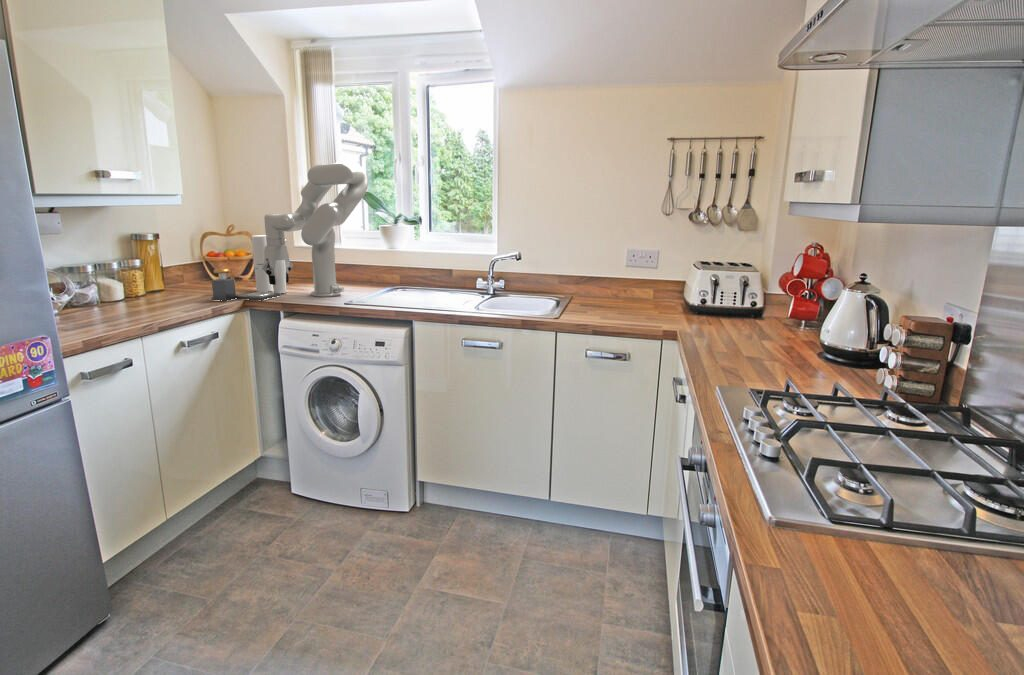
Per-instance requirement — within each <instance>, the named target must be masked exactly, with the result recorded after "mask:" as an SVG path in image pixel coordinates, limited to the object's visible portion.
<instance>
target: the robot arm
mask: <svg viewBox="0 0 1024 675" xmlns="http://www.w3.org/2000/svg"><path fill="white" fill-rule="evenodd" d="M308 169H309V170H308V171H307V180H308V182H307V183H306V184H305V185H304V186H303V187H302V189H301V191H300V195H301V199H302V200H301V203H300V205H299V206H298V208H297V209H296V210H295V211H294V212H293V213H283V214H280V213H267V214H265V215H264V218H263V219H264V231H265V235H266V243H267V246H265V250H264V265H263V266H262V269H263V270H264V271H265V272H266V273H267V275H269V282H270V284H272V285H275V276H274V269H275V265H276V261H278V260H285V264H286V284H288V283H289V274H290V271H291V270H292V268H293V266H294V263H292V262H291V260H290V256H289V250H288V247H287V245H286V243H287V239H285V232H287V233H288V232H289V233H290V232H296V231H297V232H298V231H301V233H300V236H301V237H300V238H301V239H302V241H303V243H304V244H306V245H307V246H311V261H312V263H311V265H312V276H313V278H312V279H313V280H312V281H313V290H314V291H311V292H310V296H312V297H321V298H322V297H335V296H340V295H341V293H343V292H344V290H345V287H343V286H340V284H339V283H337V273H336V271H337V270H336V255H335V245H336V233H335V229H334V227H337V226H341V225H343V224H344V223H345V222H346V221H347V219H348V218H349V216H350V215H351V214H352V212H353V211H354V210H355V208H356V207H357V206H358V205H359V203H360V202H361V201H362V200H363V198H364V196H365V195H366V193H367V191H368V186H369V180H368V176H367V173H366V171H365V169H364V168H363V167H362V166H361V165H359V164H356V163H351V162H343V161H341V162H333V163H326V164H325V163H324V164H316V165H313V166H311V167H310V168H308ZM337 185H345V187H344V188H343V189H341V191H340V192H339V193H338V195H337V196H336V197H335V198H334V199H333V200H332V202H327V203H326V202H325V203H322V204H321V205H320V206H318V205H319V204H320V202H321V201H322V200H323V199H324V198H325V196H326V194H327V193H328V192H329V191H330V190H331V188H332V187H333V186H337ZM270 270H271V272H270Z"/></svg>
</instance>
